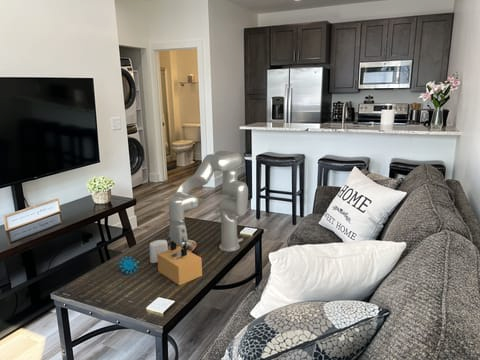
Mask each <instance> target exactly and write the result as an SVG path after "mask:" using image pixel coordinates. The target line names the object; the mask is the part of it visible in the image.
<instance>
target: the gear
mask: <svg viewBox="0 0 480 360" xmlns="http://www.w3.org/2000/svg"><path fill="white" fill-rule="evenodd" d="M132 258H133V259H132ZM120 260H121V261H119V263H118V264H119V266H118V268H119V269H121V272H125V274H126V275H128V274H129V275H132V274H133V273H135V272H136V271H137V269H138V267H139V266H138V264H139V263H140V261H139V260H137V261H136V258H134V257H132V256H129V257H128V256H127V255H126V256H124V257H122V258H121V259H120Z"/></svg>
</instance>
